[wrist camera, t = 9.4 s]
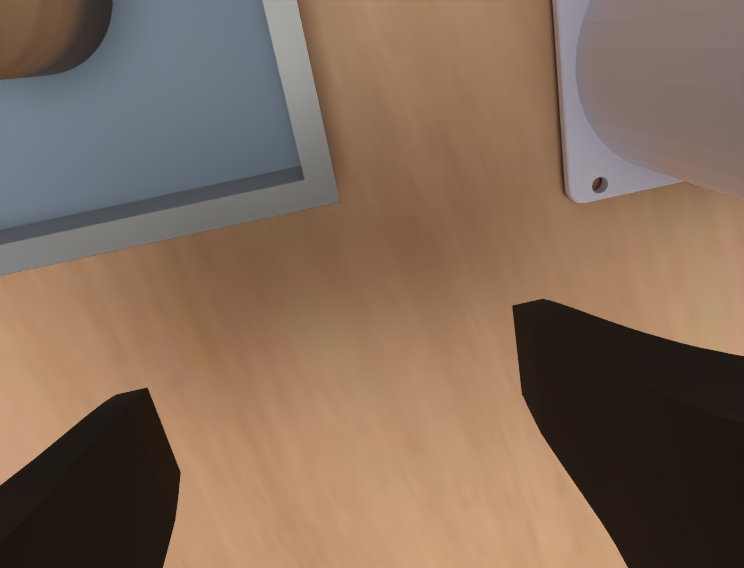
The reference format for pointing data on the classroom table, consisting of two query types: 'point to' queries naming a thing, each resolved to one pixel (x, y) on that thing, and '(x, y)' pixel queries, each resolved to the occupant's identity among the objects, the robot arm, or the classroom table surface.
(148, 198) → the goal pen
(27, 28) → the walnut post
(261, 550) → the classroom table surface
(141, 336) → the classroom table surface
